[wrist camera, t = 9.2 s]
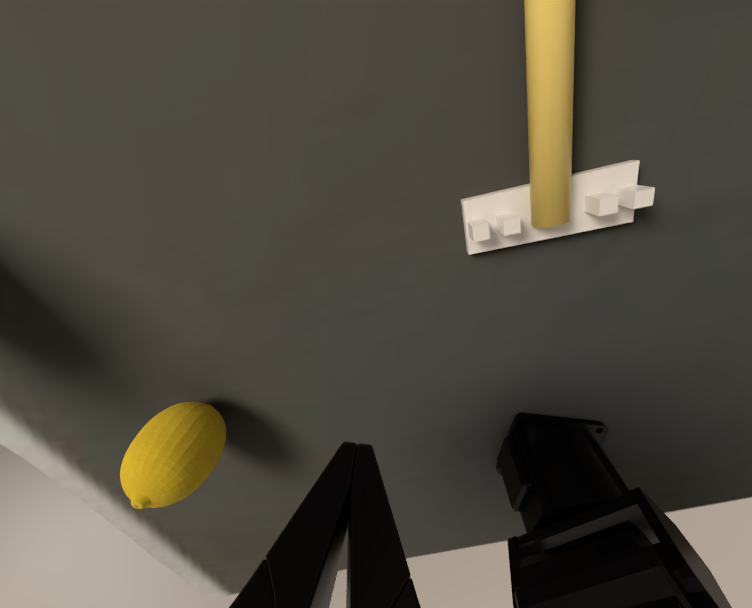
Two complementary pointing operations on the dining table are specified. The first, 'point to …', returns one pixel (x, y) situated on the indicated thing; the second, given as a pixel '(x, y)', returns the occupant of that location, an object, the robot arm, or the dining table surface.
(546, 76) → the wooden handled rake
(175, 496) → the lemon
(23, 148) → the dining table surface
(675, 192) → the dining table surface
